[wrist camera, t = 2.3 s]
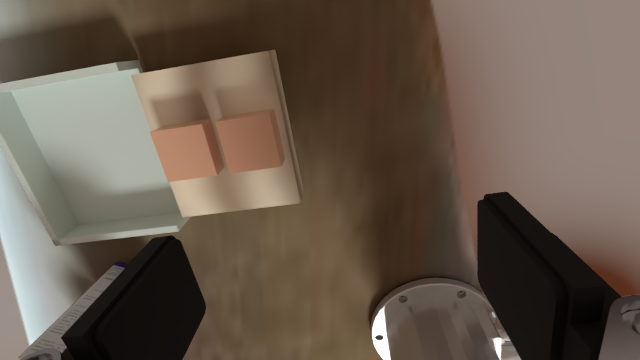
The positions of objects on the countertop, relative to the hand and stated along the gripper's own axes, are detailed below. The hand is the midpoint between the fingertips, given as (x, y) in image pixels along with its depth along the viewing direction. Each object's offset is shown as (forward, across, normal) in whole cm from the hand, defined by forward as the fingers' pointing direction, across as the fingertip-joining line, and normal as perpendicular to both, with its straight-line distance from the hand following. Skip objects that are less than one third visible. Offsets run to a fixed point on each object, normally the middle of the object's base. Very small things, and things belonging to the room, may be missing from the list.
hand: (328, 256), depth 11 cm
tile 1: (+16, +6, 0) cm, 17 cm away
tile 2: (+16, +11, 0) cm, 20 cm away
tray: (+19, +21, 0) cm, 28 cm away
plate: (+19, +9, 0) cm, 21 cm away
